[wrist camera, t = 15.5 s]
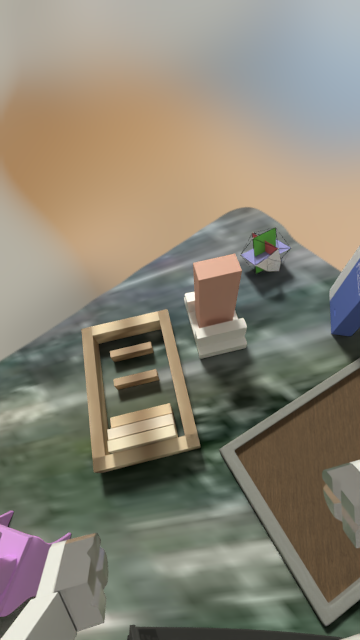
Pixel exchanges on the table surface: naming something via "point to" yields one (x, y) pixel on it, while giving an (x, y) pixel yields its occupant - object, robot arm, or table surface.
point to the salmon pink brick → (216, 289)
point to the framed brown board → (306, 487)
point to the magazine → (216, 634)
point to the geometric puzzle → (266, 251)
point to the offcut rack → (141, 426)
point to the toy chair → (20, 565)
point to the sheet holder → (216, 333)
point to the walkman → (346, 299)
